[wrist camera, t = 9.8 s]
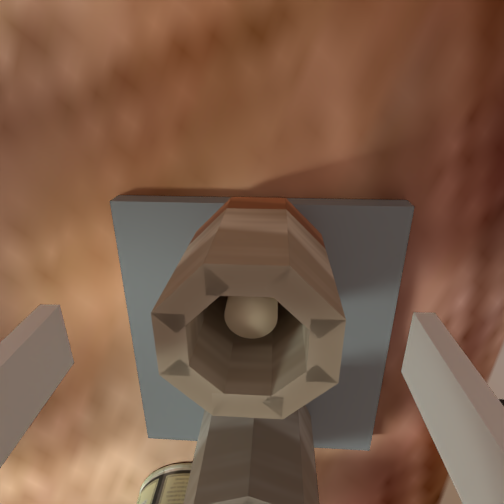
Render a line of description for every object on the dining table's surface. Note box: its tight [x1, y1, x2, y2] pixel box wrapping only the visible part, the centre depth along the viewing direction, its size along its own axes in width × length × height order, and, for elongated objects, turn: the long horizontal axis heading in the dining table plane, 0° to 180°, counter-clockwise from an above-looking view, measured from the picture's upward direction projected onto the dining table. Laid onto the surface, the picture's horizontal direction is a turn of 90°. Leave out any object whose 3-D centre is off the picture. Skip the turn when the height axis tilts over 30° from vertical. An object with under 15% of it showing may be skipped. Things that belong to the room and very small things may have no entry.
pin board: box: [110, 195, 414, 451], centre depth 21 cm, size 16×18×7 cm
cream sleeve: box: [151, 197, 346, 419], centre depth 17 cm, size 7×7×8 cm
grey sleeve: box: [183, 405, 319, 504], centre depth 22 cm, size 7×7×8 cm
